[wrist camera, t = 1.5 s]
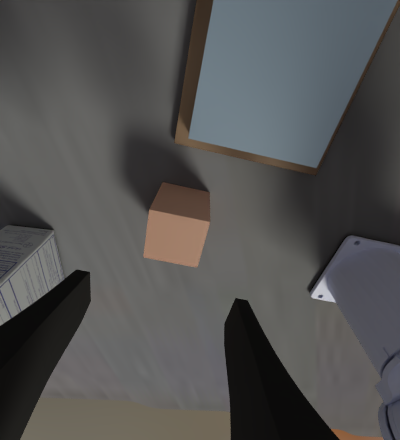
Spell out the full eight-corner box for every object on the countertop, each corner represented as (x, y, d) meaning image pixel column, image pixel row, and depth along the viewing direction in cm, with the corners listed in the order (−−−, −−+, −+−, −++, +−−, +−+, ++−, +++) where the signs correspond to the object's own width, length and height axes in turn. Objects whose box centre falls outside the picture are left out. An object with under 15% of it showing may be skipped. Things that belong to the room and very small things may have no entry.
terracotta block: (209, 192, 19) (210, 222, 15) (199, 231, 21) (197, 267, 17) (162, 181, 19) (149, 209, 15) (156, 222, 21) (143, 257, 17)
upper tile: (380, 3, 13) (400, -6, 11) (308, 161, 17) (316, 168, 16) (222, -44, 12) (224, -60, 11) (189, 134, 16) (188, 138, 15)
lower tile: (391, -9, 14) (411, -20, 12) (308, 169, 19) (315, 175, 18) (209, -65, 13) (209, -83, 11) (176, 139, 18) (174, 143, 17)
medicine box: (8, 222, 22) (-100, 295, 14) (56, 228, 22) (-24, 303, 14) (28, 283, 25) (-48, 365, 18) (69, 288, 26) (11, 371, 18)
